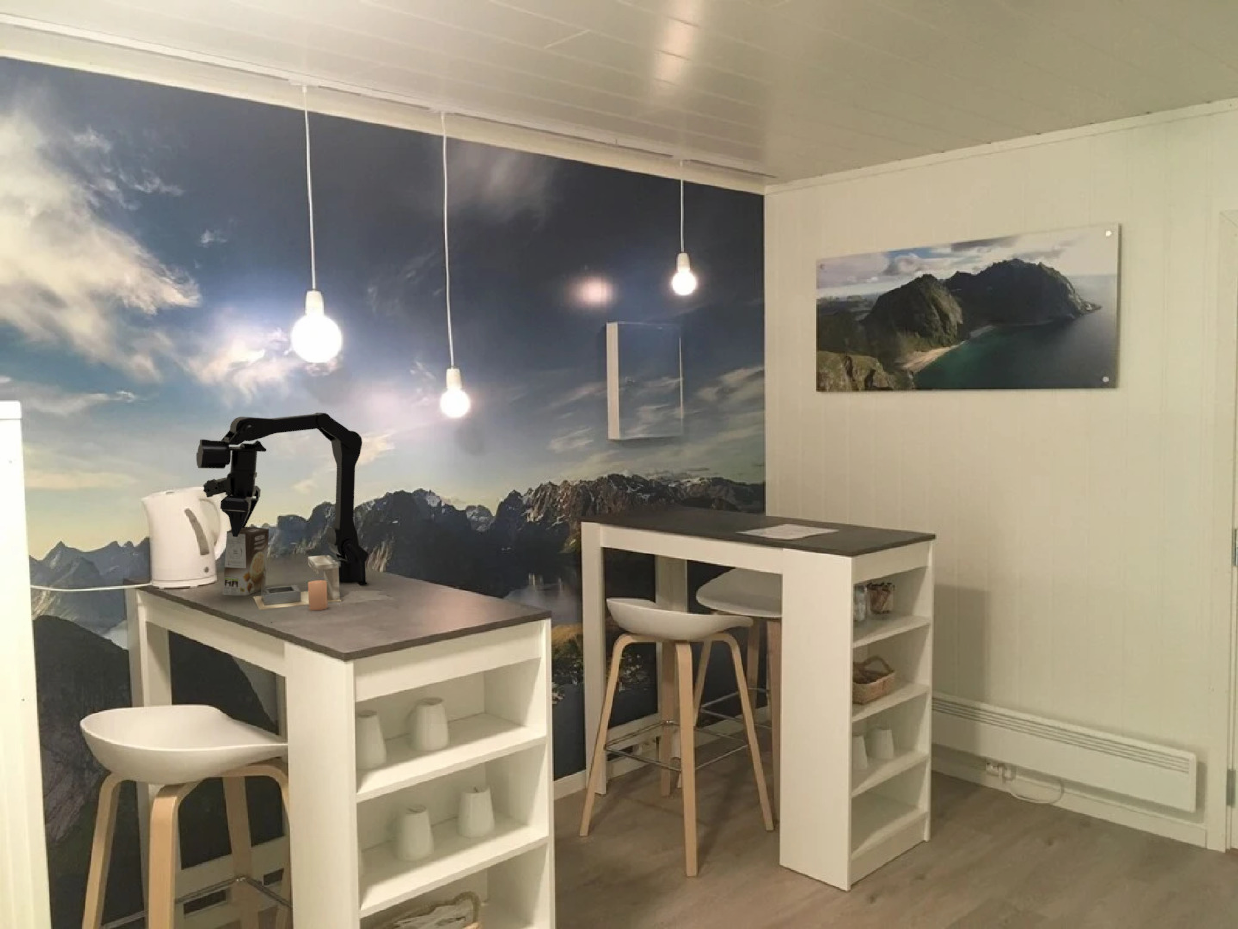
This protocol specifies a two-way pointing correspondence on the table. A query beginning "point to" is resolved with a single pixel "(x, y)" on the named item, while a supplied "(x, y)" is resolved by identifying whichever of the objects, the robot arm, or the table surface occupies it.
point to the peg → (317, 595)
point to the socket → (280, 595)
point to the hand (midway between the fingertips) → (238, 532)
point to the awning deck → (316, 563)
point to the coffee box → (245, 561)
